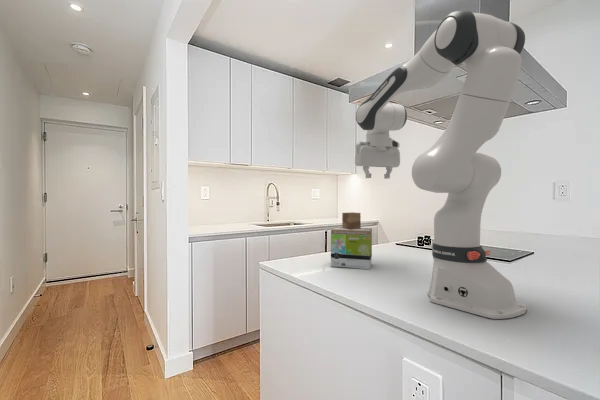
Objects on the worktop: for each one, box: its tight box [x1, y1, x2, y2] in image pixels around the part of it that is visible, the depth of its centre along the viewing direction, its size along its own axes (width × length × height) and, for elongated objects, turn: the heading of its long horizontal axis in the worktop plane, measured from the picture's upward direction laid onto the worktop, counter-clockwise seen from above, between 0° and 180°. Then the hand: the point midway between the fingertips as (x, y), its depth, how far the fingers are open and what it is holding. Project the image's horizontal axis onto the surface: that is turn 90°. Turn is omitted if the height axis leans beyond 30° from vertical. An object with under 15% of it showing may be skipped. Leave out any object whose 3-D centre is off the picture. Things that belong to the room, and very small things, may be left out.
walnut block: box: [341, 211, 362, 229], centre depth 122 cm, size 5×5×6 cm
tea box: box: [330, 226, 373, 270], centre depth 122 cm, size 15×10×15 cm
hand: (377, 178), depth 122 cm, fingers open, 8 cm apart
